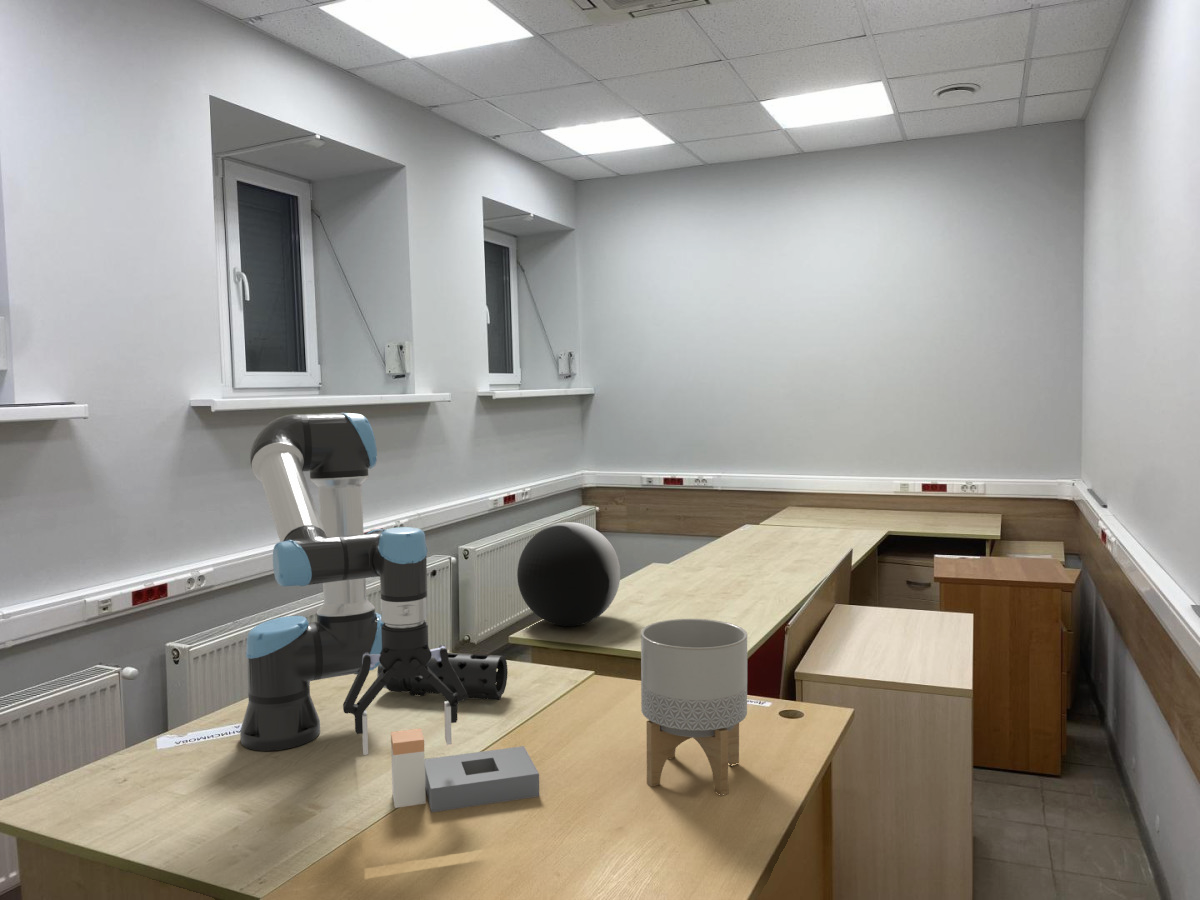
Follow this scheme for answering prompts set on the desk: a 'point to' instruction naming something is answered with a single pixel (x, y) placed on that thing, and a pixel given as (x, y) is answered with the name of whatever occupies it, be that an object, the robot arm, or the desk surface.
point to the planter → (693, 692)
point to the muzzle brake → (459, 676)
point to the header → (480, 778)
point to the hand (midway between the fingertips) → (407, 746)
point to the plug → (408, 768)
